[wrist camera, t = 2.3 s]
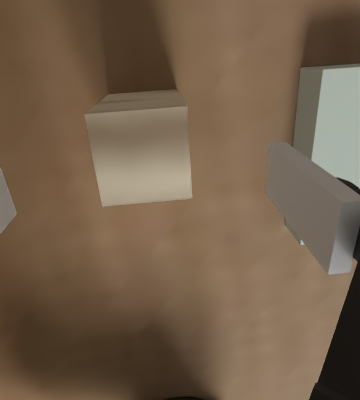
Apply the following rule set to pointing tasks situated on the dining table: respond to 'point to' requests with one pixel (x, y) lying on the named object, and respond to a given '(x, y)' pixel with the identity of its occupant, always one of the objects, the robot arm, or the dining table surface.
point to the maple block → (140, 147)
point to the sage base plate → (329, 121)
